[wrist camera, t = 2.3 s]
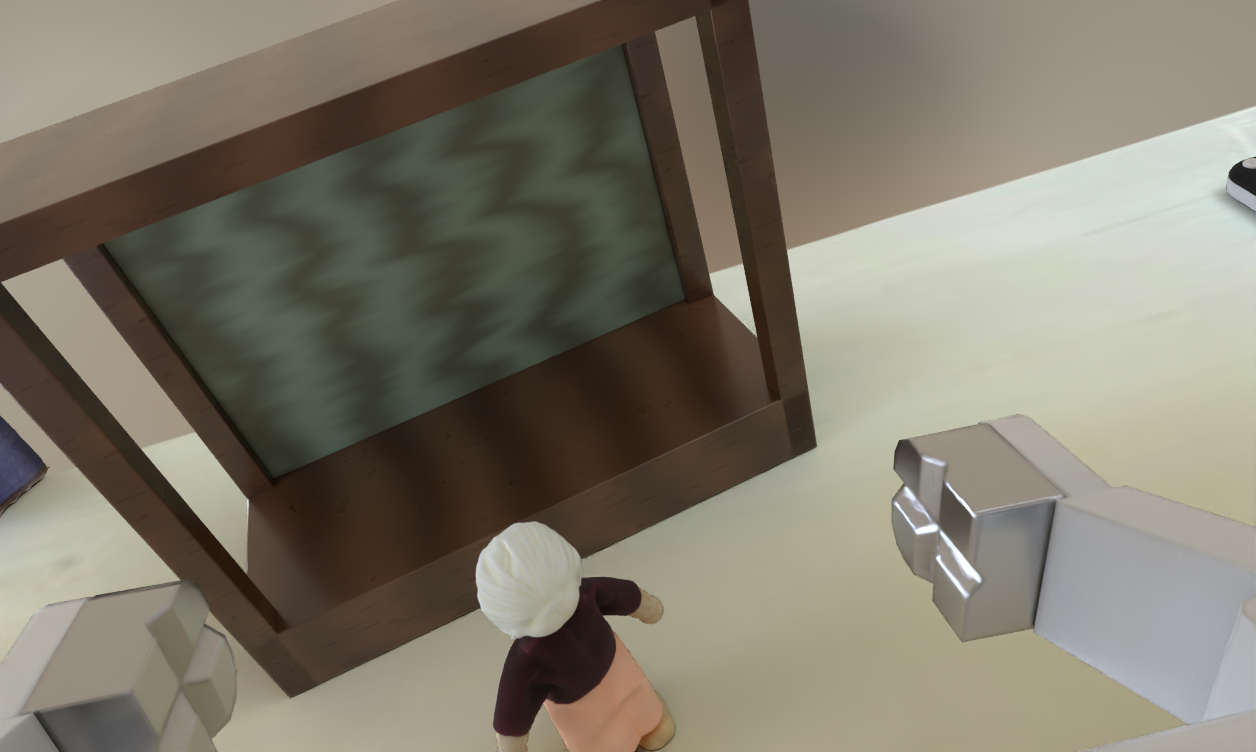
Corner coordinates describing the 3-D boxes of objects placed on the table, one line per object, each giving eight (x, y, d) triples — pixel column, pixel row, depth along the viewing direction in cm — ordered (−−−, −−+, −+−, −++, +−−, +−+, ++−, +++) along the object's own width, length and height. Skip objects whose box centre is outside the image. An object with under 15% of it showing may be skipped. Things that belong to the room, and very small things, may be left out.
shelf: (715, 336, 52) (619, -80, 38) (817, 446, 42) (740, -54, 28) (283, 529, 48) (-8, 146, 34) (289, 699, 38) (-112, 265, 24)
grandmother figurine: (628, 655, 36) (535, 445, 28) (706, 687, 34) (629, 470, 26) (523, 825, 31) (379, 629, 24) (607, 874, 29) (478, 678, 21)
